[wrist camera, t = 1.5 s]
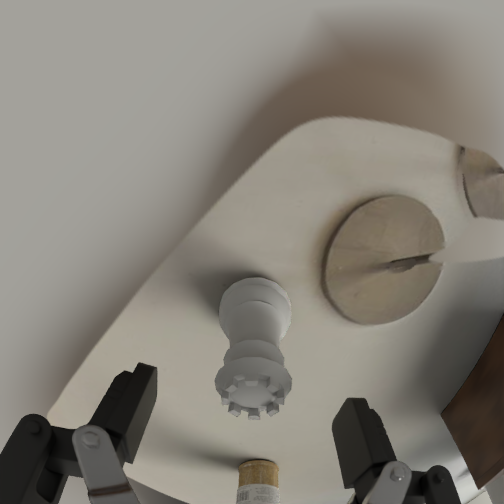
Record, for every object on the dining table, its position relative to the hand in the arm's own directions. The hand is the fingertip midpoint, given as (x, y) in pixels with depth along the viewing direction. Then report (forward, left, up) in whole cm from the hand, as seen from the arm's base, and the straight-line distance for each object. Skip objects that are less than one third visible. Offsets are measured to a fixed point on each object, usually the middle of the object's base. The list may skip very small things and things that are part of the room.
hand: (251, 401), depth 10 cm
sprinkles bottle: (+21, +5, -8) cm, 23 cm away
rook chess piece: (0, 0, -8) cm, 8 cm away
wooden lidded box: (+4, +30, -8) cm, 31 cm away
